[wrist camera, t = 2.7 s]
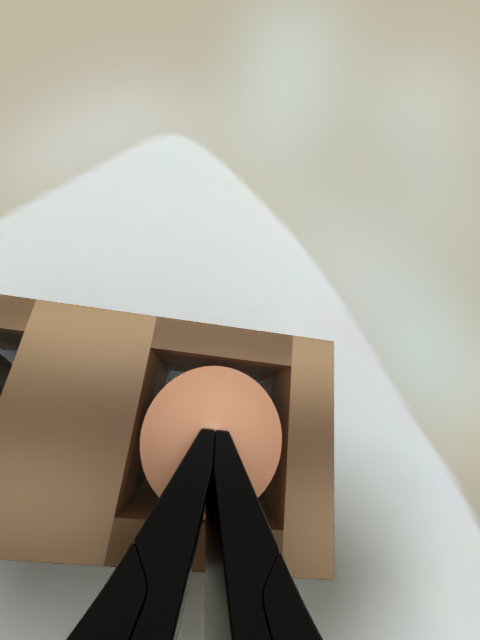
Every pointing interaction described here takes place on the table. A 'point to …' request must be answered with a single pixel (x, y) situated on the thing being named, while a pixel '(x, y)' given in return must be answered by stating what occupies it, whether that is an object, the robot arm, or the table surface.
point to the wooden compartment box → (126, 423)
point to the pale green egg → (4, 371)
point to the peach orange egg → (211, 424)
